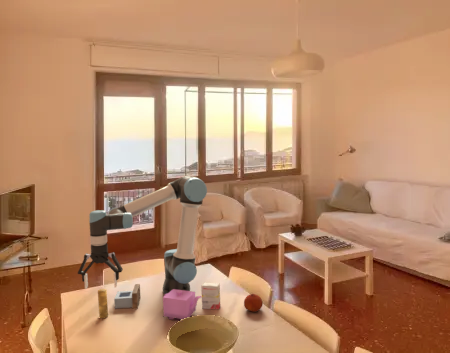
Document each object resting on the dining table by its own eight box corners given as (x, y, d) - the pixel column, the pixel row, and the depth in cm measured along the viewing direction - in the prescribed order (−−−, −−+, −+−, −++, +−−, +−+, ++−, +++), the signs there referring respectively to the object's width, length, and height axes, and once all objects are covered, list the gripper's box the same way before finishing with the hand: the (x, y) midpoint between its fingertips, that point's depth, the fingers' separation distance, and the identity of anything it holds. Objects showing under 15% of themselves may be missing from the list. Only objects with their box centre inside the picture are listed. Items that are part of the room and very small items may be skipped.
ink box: (220, 305, 187) (220, 282, 185) (218, 309, 182) (218, 286, 181) (204, 304, 188) (203, 281, 187) (201, 308, 183) (201, 285, 182)
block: (135, 299, 196) (135, 290, 195) (133, 307, 187) (132, 297, 186) (118, 300, 195) (117, 291, 194) (114, 308, 186) (114, 298, 185)
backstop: (140, 298, 197) (139, 283, 196) (137, 308, 185) (136, 293, 185) (135, 298, 197) (135, 284, 196) (132, 308, 185) (131, 293, 184)
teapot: (159, 318, 174) (157, 293, 173) (169, 309, 184) (168, 284, 182) (198, 324, 168) (197, 298, 166) (206, 314, 177) (205, 289, 176)
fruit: (242, 313, 177) (241, 297, 177) (247, 305, 186) (247, 290, 185) (259, 316, 174) (259, 299, 174) (264, 307, 183) (264, 292, 182)
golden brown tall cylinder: (108, 314, 180) (107, 288, 179) (107, 318, 176) (105, 291, 175) (100, 314, 180) (98, 289, 178) (98, 318, 176) (96, 292, 174)
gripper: (127, 240, 179) (129, 282, 181) (74, 242, 177) (76, 285, 179) (124, 244, 172) (126, 288, 174) (69, 246, 169) (71, 291, 171)
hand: (101, 287), depth 176 cm, fingers open, 13 cm apart
